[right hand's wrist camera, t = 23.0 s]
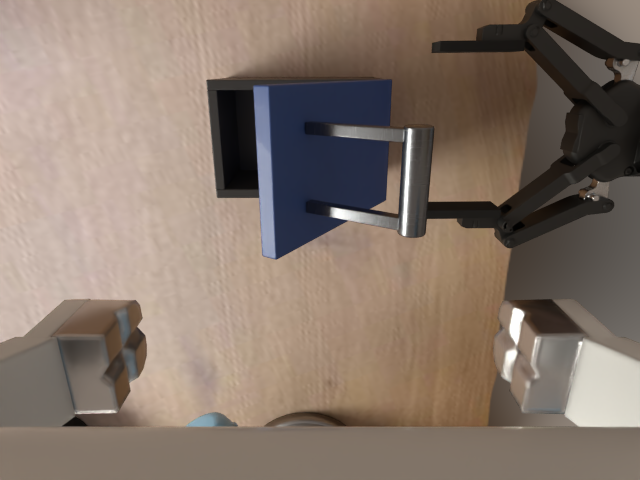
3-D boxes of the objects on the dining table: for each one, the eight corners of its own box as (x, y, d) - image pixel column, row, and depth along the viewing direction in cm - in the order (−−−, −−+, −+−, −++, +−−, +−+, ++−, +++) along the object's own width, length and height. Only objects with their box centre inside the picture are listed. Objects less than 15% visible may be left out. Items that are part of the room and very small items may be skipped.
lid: (261, 256, 26) (396, 292, 22) (252, 84, 23) (409, 87, 19) (374, 198, 38) (477, 214, 34) (379, 79, 35) (494, 80, 30)
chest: (234, 175, 46) (216, 198, 38) (227, 77, 43) (205, 79, 35) (369, 175, 46) (379, 197, 38) (372, 77, 43) (385, 79, 35)
